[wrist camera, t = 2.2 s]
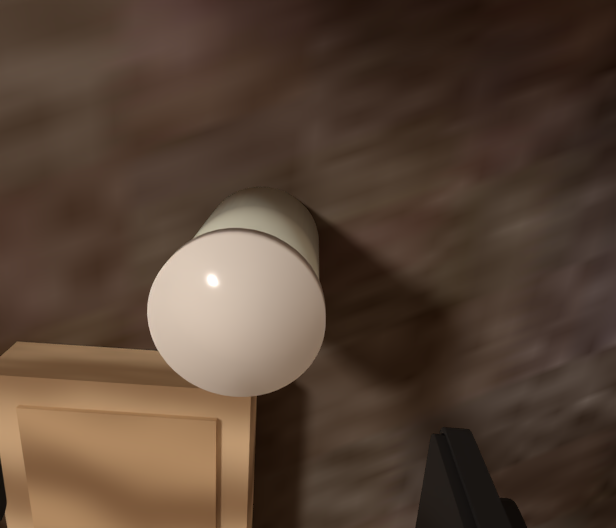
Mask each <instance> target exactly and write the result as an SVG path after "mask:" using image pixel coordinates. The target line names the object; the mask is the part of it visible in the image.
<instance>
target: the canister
mask: <svg viewBox="0 0 616 528" xmlns="http://www.w3.org/2000/svg"><path fill="white" fill-rule="evenodd" d="M147 316H148V325H149V329H150V333H151V336H152V339H153V341H154V344H155V346H156V348H157V349H158V351H159V353H160V355H161V356H162V357H163V359H164V360H165V361H166V363H167V364H168V365H169V366H170V367H171V368H172V369H173V370H174V371H175V372H176V373H177V374H179V375H180V376H181V377H182V378H184V379H185V380H187V381H188V382H190V383H192V384H193V385H195V386H197V387H199V388H201V389H204V390H207V391H209V392H212V393H216V394H220V395H224V396H233V397H250V396H258V395H263V394H267V393H270V392H273V391H276V390H278V389H280V388H282V387H285V386H287V385H288V384H290V383H291V382H293V381H294V380H296V379H297V378H298V377H299V376H300V375H302V374H303V373H304V372H305V371H306V370H307V368H308V367H309V366H310V365H311V364H312V362H313V361H314V359H315V358H316V356H317V354H318V352H319V350H320V348H321V345H322V342H323V338H324V333H325V327H326V310H325V299H324V293H323V290H322V286H321V284H320V281H319V236H318V230H317V227H316V224H315V221H314V219H313V217H312V216H311V214H310V212H309V211H308V210H307V208H306V207H305V206H304V205H303V204H302V203H301V202H300V201H299V200H297V199H296V198H295V197H293V196H292V195H290V194H288V193H286V192H284V191H281V190H279V189H275V188H270V187H251V188H247V189H243V190H240V191H238V192H235V193H234V194H232V195H230V196H228V197H227V198H226V199H225V200H223V201H222V202H221V203H220V204H219V205H218V207H217V208H216V209H215V211H214V212H213V213H212V214H211V216H210V217H209V218H208V220H207V221H206V222H205V224H204V225H203V226H202V228H201V229H200V230H199V231H198V233H197V234H196V235H195V237H194V238H193V239H192V240H190V241H188V242H187V243H185V244H184V245H183V246H182V247H180V248H179V249H178V250H177V251H176V252H175V253H174V254H173V255H172V256H171V257H170V259H169V260H168V261H167V262H166V264H165V265H164V266H163V267H162V269H161V270H160V272H159V273H158V275H157V277H156V279H155V281H154V282H153V285H152V288H151V291H150V294H149V299H148V308H147Z"/></svg>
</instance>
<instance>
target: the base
mask: <svg viewBox="0 0 616 528" xmlns="http://www.w3.org/2000/svg"><path fill="white" fill-rule="evenodd" d="M256 408H257V396H250V397H233V396H224V395H220V394H216V393H212V392H209V391H207V390H204V389H201V388H199V387H197V386H195V385H193V384H192V383H190V382H188V381H187V380H185V379H184V378H182V377H181V376H180V375H179V374H177V373H176V372H175V371H174V370H173V369H172V368H171V367H170V366H169V365H168V364H167V363H166V361H165V360H164V359H163V357H162V356H161V355H160V353H159V351H153V350H138V349H123V348H108V347H93V346H78V345H63V344H48V343H33V342H16V343H15V344H14V345H13V346H12V347H11V348H10V349H9V350H7V351H6V352H5V353H4V354H3V355H2V356H1V357H0V458H1V465H2V471H3V478H4V485H5V491H6V498H7V506H6V510H5V516H6V522H7V528H252V519H253V491H254V463H255V435H256Z"/></svg>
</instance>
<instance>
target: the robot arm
mask: <svg viewBox="0 0 616 528" xmlns="http://www.w3.org/2000/svg"><path fill="white" fill-rule="evenodd" d="M6 506H7V498H6V491H5V485H4V478H3V471H2V465H1V458H0V521H1V519H2V518H3V516H4V513H5V510H6ZM416 528H527V526H526V524H525V522H524V520H523V517H522V515H521V513H520V511H519V509H518V507H517V505H516V504H515V502H514V501H513V500H511V499H508V498H499V496H498V493H497V491H496V489H495V486H494V484H493V481H492V479H491V477H490V474H489V472H488V470H487V467H486V465H485V463H484V460H483V458H482V456H481V453H480V451H479V448H478V446H477V444H476V441H475V439H474V437H473V434H472V432H471V431H470V430H469V429H460V428H447V427H443V428H441V430H440V434H432V435H431V439H430V444H429V450H428V456H427V462H426V468H425V474H424V480H423V486H422V492H421V498H420V504H419V510H418V516H417V522H416Z"/></svg>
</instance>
